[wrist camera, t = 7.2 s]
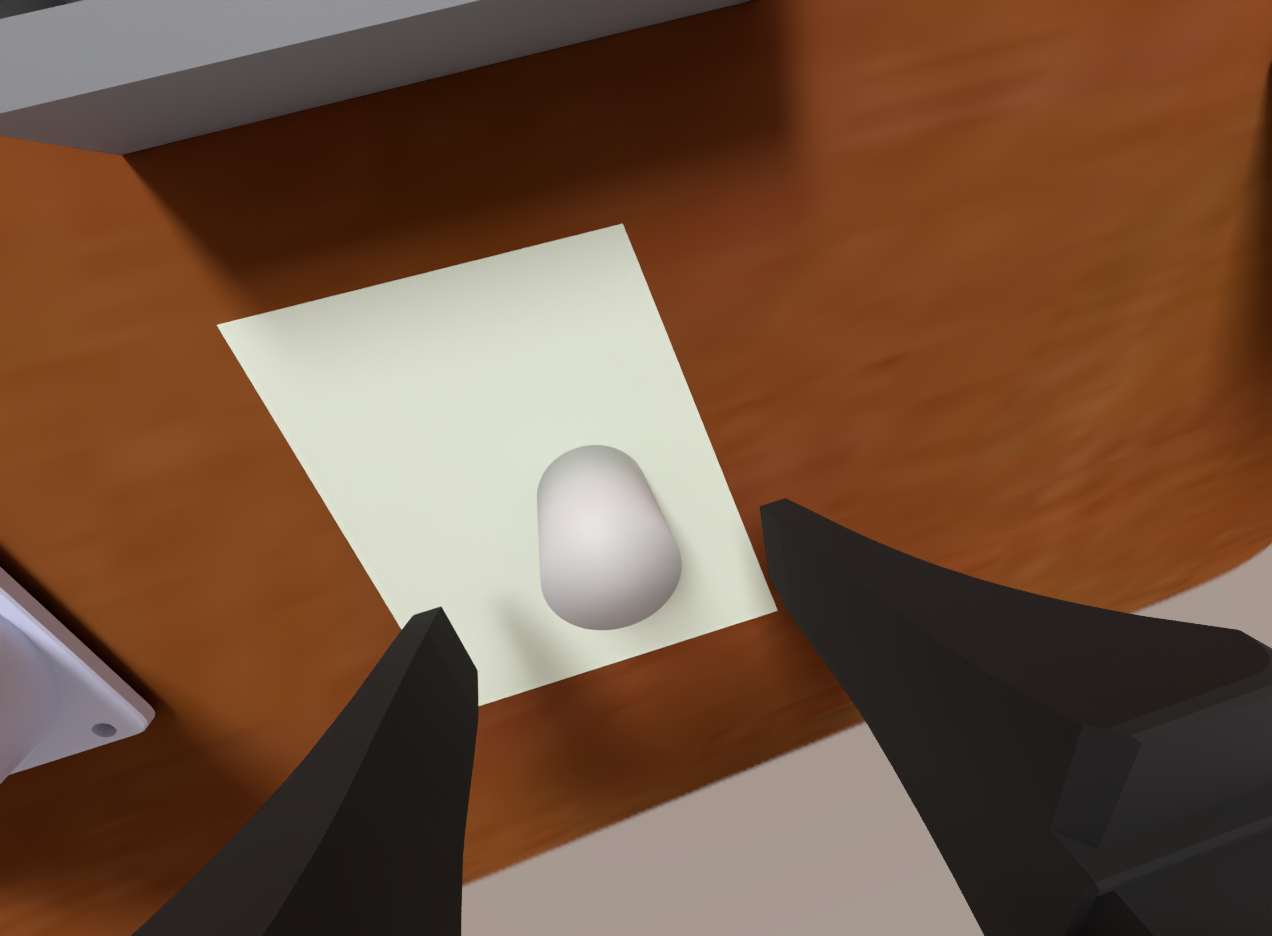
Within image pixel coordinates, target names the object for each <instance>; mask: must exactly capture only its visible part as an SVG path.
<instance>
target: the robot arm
mask: <svg viewBox="0 0 1272 936" xmlns="http://www.w3.org/2000/svg"><path fill="white" fill-rule="evenodd" d="M760 513H761V520H762V528H763V535H764V542H765V549H766V557H767V564H768V571H769V577H770V579H771V581H772V583H773V584H774V586H775V588H776V590H777V592H778V594H779V596H780V597H781V599H782V601H783V603H784V605H785V606H786V608H787V610H788V612H789V613H790V615H791V616H792V618H793V619H794V621H795V622H796V624H797V625H798V626H799V628H800V629H801V631H802V632H803V633H804V635H805V636H806V638H807V639H808V640H809V642H810V643H811V645H812V646H813V647H814V649H815V650H816V651H817V653H818V654H819V656H820V657H821V658H822V660H823V661H824V662H825V664H826V665H827V667H828V668H829V669H830V671H831V672H832V673H833V675H834V676H835V678H836V679H837V680H838V682H839V683H840V685H841V686H842V687H843V689H844V690H845V691H846V693H847V694H848V696H849V697H850V698H851V700H852V701H853V703H854V704H855V706H856V707H857V709H858V710H859V712H860V713H861V715H862V716H863V718H864V719H865V721H866V723H867V724H868V726H869V728H870V729H871V731H872V733H873V735H874V736H875V738H876V740H877V741H878V743H879V745H880V746H881V748H882V750H883V752H884V753H885V755H886V757H887V758H888V760H889V762H890V763H891V765H892V766H893V769H894V770H895V772H896V774H897V776H898V777H899V779H900V781H901V783H902V784H903V786H904V788H905V790H906V791H907V793H908V795H909V797H910V798H911V800H912V802H913V804H914V805H915V807H916V809H917V811H918V813H919V814H920V816H921V818H922V820H923V822H924V823H925V825H926V827H927V829H928V830H929V832H930V834H931V836H932V838H933V840H934V842H935V843H936V845H937V847H938V849H939V851H940V852H941V854H942V856H943V858H944V860H945V862H946V863H947V865H948V867H949V869H950V871H951V873H952V875H953V877H954V878H955V880H956V882H957V884H958V886H959V888H960V890H961V892H962V894H963V896H964V898H965V899H966V901H967V903H968V905H969V907H970V909H971V911H972V913H973V914H974V917H975V919H976V920H977V922H978V924H979V926H980V928H981V930H982V932H983V934H984V936H1272V649H1271V648H1270V647H1268V646H1266V645H1265V644H1263V643H1261V642H1259V641H1258V640H1256V639H1254V638H1252V637H1251V636H1249V635H1247V634H1245V633H1244V632H1242V631H1239V630H1235V629H1228V628H1221V627H1214V626H1207V625H1201V624H1194V623H1186V622H1180V621H1173V620H1166V619H1159V618H1152V617H1145V616H1140V615H1134V614H1128V613H1123V612H1118V611H1113V610H1107V609H1102V608H1097V607H1092V606H1087V605H1081V604H1077V603H1072V602H1068V601H1063V600H1059V599H1054V598H1049V597H1045V596H1041V595H1037V594H1033V593H1029V592H1025V591H1022V590H1018V589H1014V588H1010V587H1006V586H1002V585H998V584H995V583H991V582H988V581H984V580H981V579H977V578H974V577H971V576H968V575H965V574H962V573H959V572H956V571H953V570H950V569H946V568H943V567H940V566H937V565H934V564H932V563H929V562H926V561H923V560H921V559H918V558H915V557H913V556H910V555H908V554H905V553H903V552H900V551H898V550H895V549H893V548H890V547H888V546H885V545H883V544H881V543H878V542H876V541H874V540H872V539H869V538H867V537H865V536H863V535H860V534H858V533H856V532H854V531H852V530H850V529H847V528H845V527H843V526H841V525H839V524H837V523H835V522H833V521H831V520H829V519H827V518H825V517H823V516H821V515H819V514H817V513H815V512H813V511H811V510H809V509H807V508H805V507H803V506H801V505H798V504H796V503H794V502H792V501H790V500H788V499H786V498H785V499H782V500H779V501H775V502H772V503H769V504H766V505H763V506H760ZM154 717H155V711H154V710H153V708H152V707H151V705H149V704H148V703H147V702H146V701H145V700H144V699H143V698H142V697H141V696H140V695H139V694H138V693H136V692H135V691H134V690H133V689H132V688H131V687H130V686H129V685H128V684H127V683H126V682H125V681H123V680H122V679H121V678H120V677H119V676H118V675H117V674H116V673H115V672H114V671H113V670H112V669H110V668H109V667H108V666H107V665H106V664H105V663H104V662H103V661H102V660H101V659H100V658H99V657H97V656H96V655H95V654H94V653H93V652H92V651H91V650H90V649H89V648H88V647H87V646H86V645H85V644H83V643H82V642H81V641H80V640H79V639H78V638H77V637H76V636H75V635H74V634H73V633H72V632H70V631H69V630H68V629H67V628H66V627H65V626H64V625H63V624H62V623H61V622H60V621H59V620H57V619H56V618H55V617H54V616H53V615H52V614H51V613H50V612H49V611H48V610H47V609H46V608H44V607H43V606H42V605H41V604H40V603H39V602H38V601H37V600H36V599H35V598H34V597H33V596H31V595H30V594H29V593H28V592H27V591H26V590H25V589H24V588H23V587H22V586H21V585H20V584H18V583H17V582H16V581H15V580H14V579H13V578H12V577H11V576H10V575H9V574H8V573H7V572H5V571H4V570H3V569H2V568H1V567H0V784H1V783H2V782H3V781H4V780H5V778H6V777H7V776H8V775H10V774H14V773H17V772H20V771H23V770H26V769H29V768H33V767H36V766H39V765H42V764H45V763H48V762H51V761H55V760H58V759H61V758H64V757H67V756H70V755H73V754H77V753H80V752H83V751H86V750H89V749H92V748H95V747H99V746H102V745H105V744H108V743H111V742H114V741H118V740H121V739H124V738H127V737H130V736H133V735H136V734H139V733H141V732H143V731H144V730H145V729H146V728H147V727H148V725H149V724H150V723H151V721H152V720H153V719H154ZM477 725H478V670H477V668H476V667H475V665H474V663H473V661H472V660H471V658H470V656H469V654H468V652H467V651H466V649H465V647H464V645H463V644H462V642H461V640H460V638H459V637H458V635H457V633H456V631H455V630H454V628H453V626H452V624H451V622H450V621H449V619H448V617H447V615H446V614H445V612H444V610H443V608H442V607H437V608H434V609H431V610H428V611H425V612H421V613H418V614H415V615H413V616H412V617H411V619H410V620H409V621H408V622H407V624H406V625H405V626H404V628H403V629H402V630H401V632H400V633H399V634H398V636H397V637H396V638H395V640H394V641H393V643H392V644H391V645H390V647H389V648H388V650H387V651H386V652H385V654H384V655H383V657H382V658H381V659H380V661H379V662H378V663H377V665H376V666H375V668H374V669H373V670H372V672H371V673H370V674H369V676H368V677H367V679H366V680H365V681H364V683H363V684H362V685H361V687H360V688H359V689H358V691H357V692H356V694H355V695H354V696H353V698H352V699H351V700H350V702H349V703H348V704H347V706H346V707H345V708H344V709H343V711H342V712H341V713H340V714H339V716H338V717H337V718H336V720H335V721H334V722H333V723H332V725H331V726H330V727H329V728H328V730H327V731H326V732H325V734H324V735H323V736H322V737H321V739H320V740H319V741H318V742H317V744H316V745H315V746H314V747H313V749H312V750H311V751H310V753H309V754H308V755H307V756H306V757H305V758H304V760H303V761H302V762H301V763H300V764H299V766H298V767H297V768H296V769H295V770H294V771H293V773H292V774H291V775H290V776H289V777H288V778H287V780H286V781H285V782H284V783H283V784H282V785H281V786H280V787H279V789H278V790H277V791H276V792H275V793H274V794H273V795H272V796H271V797H270V798H269V800H268V801H267V802H266V803H265V804H264V805H263V806H262V807H261V808H260V810H259V811H258V812H257V813H256V814H255V815H254V816H253V817H252V818H251V819H250V820H249V821H248V822H247V823H246V825H245V826H244V827H243V828H242V829H241V830H240V831H239V832H238V833H237V834H236V835H235V836H234V837H233V838H232V839H231V840H230V841H229V842H228V843H227V844H226V845H225V846H224V847H223V848H222V849H221V850H220V851H219V852H218V853H217V854H216V855H215V856H214V857H213V858H212V859H211V860H210V861H209V862H208V863H207V864H206V865H205V866H204V867H203V868H202V869H201V870H200V871H199V872H198V873H197V874H196V875H195V876H194V877H193V878H192V879H191V880H190V881H189V882H188V883H187V884H186V885H185V886H184V887H183V888H182V889H181V890H180V891H179V892H178V893H177V894H176V895H174V896H173V897H172V898H171V899H170V900H169V901H168V902H167V903H166V904H165V905H164V906H163V907H162V908H161V909H160V910H158V911H157V912H156V913H155V914H154V915H153V916H152V917H151V918H150V919H149V920H148V921H147V922H146V923H145V924H144V925H142V926H141V927H140V928H139V929H138V930H137V931H136V932H135V933H134V934H132V935H131V936H461V905H462V868H463V849H464V837H465V827H466V818H467V810H468V802H469V794H470V785H471V777H472V769H473V761H474V752H475V743H476V734H477Z"/></svg>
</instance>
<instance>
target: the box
mask: <svg viewBox="0 0 1272 936" xmlns="http://www.w3.org/2000/svg"><path fill="white" fill-rule="evenodd" d="M748 1H752V0H0V136H5V137H11V138H17V139H24V140H30V141H36V142H42V143H48V144H54V145H60V146H66V147H73V148H79V149H85V150H91V151H97V152H103V153H109V154H115V155H123V154H127V153H131V152H135V151H139V150H143V149H147V148H151V147H155V146H159V145H164V144H168V143H172V142H176V141H180V140H184V139H188V138H192V137H196V136H200V135H204V134H209V133H213V132H217V131H221V130H225V129H229V128H233V127H237V126H241V125H245V124H249V123H253V122H258V121H262V120H266V119H270V118H274V117H278V116H282V115H286V114H290V113H294V112H298V111H302V110H307V109H311V108H315V107H319V106H323V105H327V104H331V103H335V102H339V101H343V100H347V99H352V98H356V97H360V96H364V95H368V94H372V93H376V92H380V91H384V90H388V89H392V88H396V87H401V86H405V85H409V84H413V83H417V82H421V81H425V80H429V79H433V78H437V77H441V76H445V75H450V74H454V73H458V72H462V71H466V70H470V69H474V68H478V67H482V66H486V65H490V64H494V63H499V62H503V61H507V60H511V59H515V58H519V57H523V56H527V55H531V54H535V53H539V52H544V51H548V50H552V49H556V48H560V47H564V46H568V45H572V44H576V43H580V42H584V41H588V40H593V39H597V38H601V37H605V36H609V35H613V34H617V33H621V32H625V31H629V30H633V29H637V28H642V27H646V26H650V25H654V24H658V23H662V22H666V21H670V20H674V19H678V18H682V17H687V16H691V15H695V14H699V13H703V12H707V11H711V10H715V9H719V8H723V7H727V6H731V5H736V4H740V3H744V2H748Z"/></svg>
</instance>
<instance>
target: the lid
mask: <svg viewBox="0 0 1272 936" xmlns="http://www.w3.org/2000/svg"><path fill="white" fill-rule="evenodd" d="M217 326H218V328H219V330H220V331H221V333H222V335H223V336H224V338H225V340H226V341H227V343H228V344H229V346H230V348H231V349H232V351H233V353H234V354H235V356H236V358H237V359H238V361H239V363H240V364H241V366H242V368H243V369H244V371H245V372H246V374H247V376H248V377H249V379H250V381H251V382H252V384H253V386H254V387H255V389H256V391H257V392H258V394H259V396H260V397H261V399H262V400H263V402H264V404H265V405H266V407H267V409H268V410H269V412H270V414H271V415H272V417H273V419H274V420H275V422H276V424H277V425H278V427H279V428H280V430H281V432H282V433H283V435H284V437H285V438H286V440H287V442H288V443H289V445H290V447H291V448H292V450H293V451H294V453H295V455H296V456H297V458H298V460H299V461H300V463H301V465H302V466H303V468H304V470H305V471H306V473H307V475H308V476H309V478H310V479H311V481H312V483H313V484H314V486H315V488H316V489H317V491H318V493H319V494H320V496H321V498H322V499H323V501H324V503H325V504H326V506H327V507H328V509H329V511H330V512H331V514H332V516H333V517H334V519H335V521H336V522H337V524H338V526H339V527H340V529H341V531H342V532H343V534H344V535H345V537H346V539H347V540H348V542H349V544H350V545H351V547H352V549H353V550H354V552H355V554H356V555H357V557H358V559H359V560H360V562H361V563H362V565H363V567H364V568H365V570H366V572H367V573H368V575H369V577H370V578H371V580H372V582H373V583H374V585H375V587H376V588H377V590H378V591H379V593H380V595H381V596H382V598H383V600H384V601H385V603H386V605H387V606H388V608H389V610H390V611H391V613H392V614H393V616H394V618H395V619H396V621H397V623H398V624H399V626H400V628H401V629H403V628H404V626H405V625H406V624H407V622H408V621H409V620H410V619H411V617H412V616H413V615H415V614H418V613H421V612H425V611H428V610H431V609H434V608H437V607H442V608H443V610H444V612H445V614H446V615H447V617H448V619H449V621H450V622H451V624H452V626H453V628H454V630H455V631H456V633H457V635H458V637H459V638H460V640H461V642H462V644H463V645H464V647H465V649H466V651H467V652H468V654H469V656H470V658H471V660H472V661H473V663H474V665H475V667H476V668H477V670H478V706H481V705H484V704H487V703H490V702H494V701H497V700H500V699H503V698H506V697H509V696H512V695H515V694H519V693H522V692H525V691H528V690H531V689H534V688H537V687H540V686H544V685H547V684H550V683H553V682H556V681H559V680H562V679H565V678H569V677H572V676H575V675H578V674H581V673H584V672H587V671H590V670H594V669H597V668H600V667H603V666H606V665H609V664H612V663H616V662H619V661H622V660H625V659H628V658H631V657H634V656H637V655H641V654H644V653H647V652H650V651H653V650H656V649H659V648H662V647H666V646H669V645H672V644H675V643H678V642H681V641H684V640H687V639H691V638H694V637H697V636H700V635H703V634H706V633H709V632H713V631H716V630H719V629H722V628H725V627H728V626H731V625H734V624H738V623H741V622H744V621H747V620H750V619H753V618H756V617H759V616H763V615H766V614H769V613H772V612H775V611H778V610H777V608H776V605H775V603H774V600H773V598H772V595H771V593H770V590H769V588H768V585H767V583H766V580H765V578H764V575H763V573H762V570H761V568H760V565H759V563H758V560H757V558H756V555H755V553H754V550H753V548H752V545H751V543H750V540H749V538H748V535H747V533H746V530H745V528H744V525H743V523H742V520H741V518H740V515H739V513H738V510H737V508H736V505H735V503H734V500H733V498H732V495H731V493H730V490H729V488H728V485H727V483H726V480H725V478H724V475H723V473H722V470H721V468H720V465H719V463H718V460H717V458H716V455H715V453H714V450H713V448H712V445H711V443H710V440H709V438H708V435H707V433H706V430H705V428H704V425H703V423H702V420H701V418H700V415H699V413H698V410H697V408H696V405H695V403H694V400H693V398H692V395H691V393H690V390H689V388H688V385H687V383H686V380H685V378H684V375H683V373H682V370H681V368H680V365H679V363H678V360H677V358H676V355H675V353H674V350H673V348H672V345H671V343H670V340H669V338H668V335H667V333H666V330H665V328H664V325H663V323H662V320H661V318H660V315H659V313H658V310H657V308H656V305H655V303H654V300H653V298H652V295H651V293H650V290H649V288H648V285H647V283H646V280H645V278H644V275H643V273H642V270H641V268H640V265H639V263H638V260H637V258H636V255H635V253H634V251H633V248H632V245H631V243H630V240H629V238H628V236H627V233H626V231H625V228H624V225H623V224H619V225H615V226H611V227H607V228H603V229H599V230H595V231H591V232H587V233H583V234H579V235H575V236H571V237H567V238H563V239H559V240H555V241H551V242H547V243H543V244H539V245H535V246H531V247H527V248H523V249H519V250H515V251H511V252H507V253H503V254H499V255H495V256H491V257H487V258H483V259H479V260H475V261H471V262H467V263H463V264H459V265H455V266H451V267H447V268H443V269H439V270H435V271H431V272H427V273H423V274H419V275H415V276H411V277H407V278H403V279H399V280H395V281H391V282H387V283H383V284H379V285H375V286H371V287H367V288H363V289H359V290H355V291H351V292H347V293H343V294H339V295H335V296H331V297H327V298H323V299H319V300H315V301H311V302H307V303H303V304H299V305H295V306H291V307H287V308H283V309H279V310H275V311H271V312H267V313H263V314H259V315H255V316H251V317H247V318H243V319H239V320H235V321H231V322H227V323H223V324H219V325H217Z"/></svg>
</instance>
